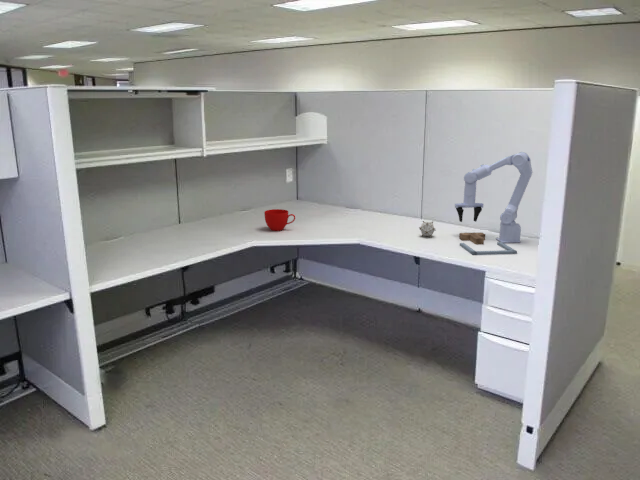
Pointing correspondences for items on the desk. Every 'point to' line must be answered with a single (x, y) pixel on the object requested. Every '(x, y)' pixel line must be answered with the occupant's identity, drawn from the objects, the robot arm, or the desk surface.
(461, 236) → the walnut T-block
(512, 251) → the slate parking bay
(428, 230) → the grey spiky ball
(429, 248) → the desk surface
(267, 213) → the ceramic cup
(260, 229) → the desk surface
